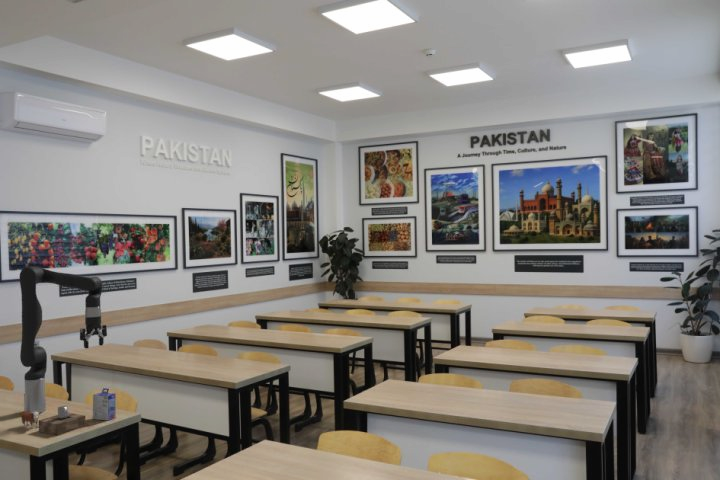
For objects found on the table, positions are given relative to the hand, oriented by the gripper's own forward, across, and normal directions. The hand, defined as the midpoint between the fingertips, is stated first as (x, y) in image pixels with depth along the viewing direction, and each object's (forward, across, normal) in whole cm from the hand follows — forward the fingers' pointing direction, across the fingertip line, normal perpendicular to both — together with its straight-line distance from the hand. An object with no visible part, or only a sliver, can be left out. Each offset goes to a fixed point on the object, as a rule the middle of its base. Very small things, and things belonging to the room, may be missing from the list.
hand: (93, 346), depth 296 cm
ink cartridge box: (+33, +7, +16) cm, 38 cm away
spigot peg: (+32, +26, +11) cm, 43 cm away
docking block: (+33, +26, +11) cm, 44 cm away
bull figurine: (+33, +31, -5) cm, 46 cm away
